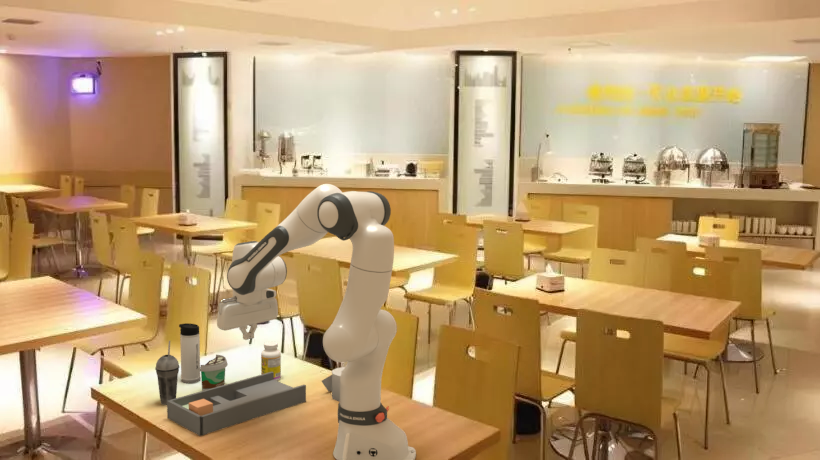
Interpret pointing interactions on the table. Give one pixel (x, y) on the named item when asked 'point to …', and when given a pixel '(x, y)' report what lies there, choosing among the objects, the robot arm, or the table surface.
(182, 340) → the travel mug
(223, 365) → the food container
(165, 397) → the beverage cup
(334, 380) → the toilet tissue
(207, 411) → the terracotta block
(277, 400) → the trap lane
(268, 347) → the supplement bottle
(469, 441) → the table surface
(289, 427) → the table surface
